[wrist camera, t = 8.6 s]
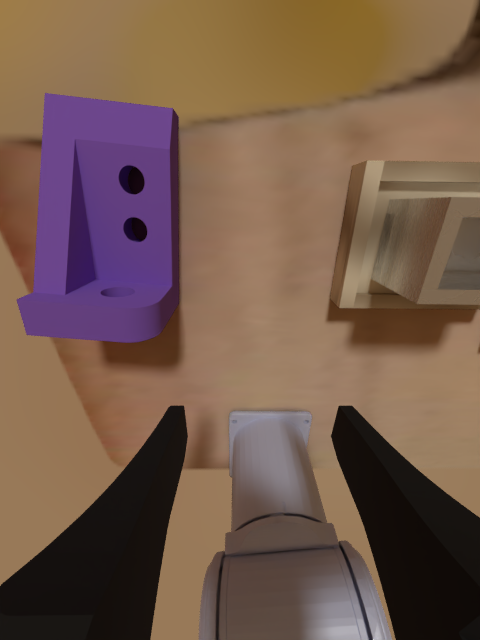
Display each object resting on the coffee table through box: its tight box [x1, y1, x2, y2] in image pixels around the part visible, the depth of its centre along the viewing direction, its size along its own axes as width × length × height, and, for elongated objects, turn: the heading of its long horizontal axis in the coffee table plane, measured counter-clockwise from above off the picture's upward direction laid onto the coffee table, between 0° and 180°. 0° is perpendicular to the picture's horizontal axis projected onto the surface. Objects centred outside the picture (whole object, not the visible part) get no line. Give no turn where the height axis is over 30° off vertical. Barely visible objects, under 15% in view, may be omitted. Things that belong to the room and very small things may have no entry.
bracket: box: [17, 93, 179, 343], centre depth 14 cm, size 12×7×7 cm, turn 175°
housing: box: [371, 197, 480, 305], centre depth 14 cm, size 5×8×5 cm, turn 89°
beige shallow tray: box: [330, 161, 480, 309], centre depth 17 cm, size 9×12×2 cm
